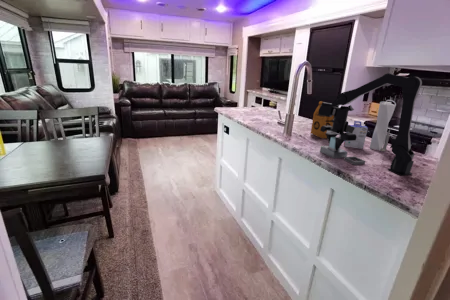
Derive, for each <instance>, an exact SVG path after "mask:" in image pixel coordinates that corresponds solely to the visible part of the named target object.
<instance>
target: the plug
mask: <svg viewBox="0 0 450 300" xmlns="http://www.w3.org/2000/svg"><path fill="white" fill-rule="evenodd" d="M328 146H329V149H331V150H333V151H338V150H339V149H338V150H336V148H335V137H331V139H330V144H329V143H328Z"/></svg>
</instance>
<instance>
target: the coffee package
mask: <svg viewBox="0 0 450 300" xmlns="http://www.w3.org/2000/svg"><path fill="white" fill-rule="evenodd" d="M322 102H323V101H322V100H321V101H319V102H318V106H317V107H316V108H315V111H314V112H313V115H312V116H313V117H312V122H311V129H310V134H311V135H313V136H316V137H317V138H320V139H327V136H326V134H325V133H326V132H327V131H325V132H322V131H320V129H321V127H322V126H332V125H333V122H331V121H332V120H334V116H335V114H334V115H332V116H331V117H327V116H321V115H319V114H318V111H319V108H320V106H321V105H322Z"/></svg>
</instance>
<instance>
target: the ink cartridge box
mask: <svg viewBox="0 0 450 300" xmlns="http://www.w3.org/2000/svg"><path fill="white" fill-rule="evenodd" d="M349 125H350V126H352V127H354V128H355V129H354V131H353V134H356V136H357V137H356V140H352V141H344V142H343V143H342V145H343V146H344V147H345V148H353V149H354V148H355V149H360V150H361V149H364V145H365V140H366V137H367V133H368V129H369V127H368V126H367V125H362V121H357V120H355V121H354V122H353V124H349ZM345 133H349V132H345Z"/></svg>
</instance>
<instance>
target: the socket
mask: <svg viewBox="0 0 450 300" xmlns="http://www.w3.org/2000/svg"><path fill="white" fill-rule="evenodd" d="M319 152H320V153H322V154H324V155H326V156H327V157H330V158H331V157H332V158H331V159H345V157H348V151H347V150H345V149H343V148H341V147H340V148H339V150H338V151H333V150H331V149H329V145H321V146H320V148H319Z"/></svg>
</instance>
